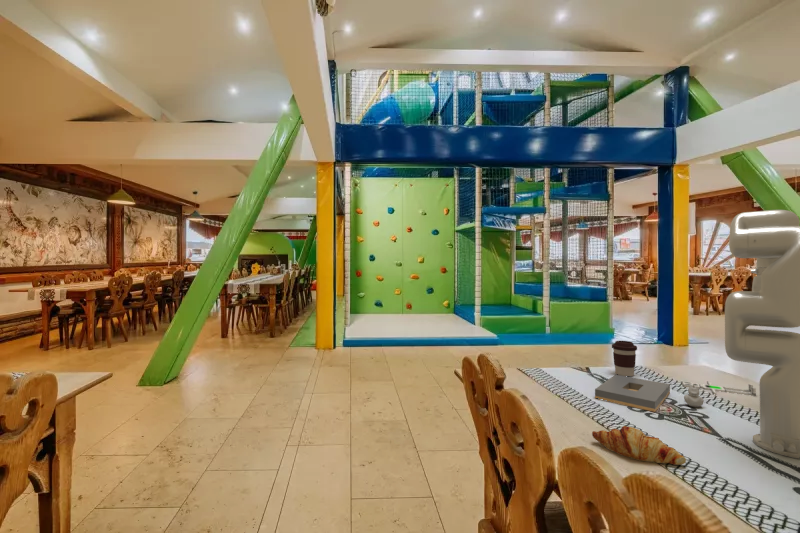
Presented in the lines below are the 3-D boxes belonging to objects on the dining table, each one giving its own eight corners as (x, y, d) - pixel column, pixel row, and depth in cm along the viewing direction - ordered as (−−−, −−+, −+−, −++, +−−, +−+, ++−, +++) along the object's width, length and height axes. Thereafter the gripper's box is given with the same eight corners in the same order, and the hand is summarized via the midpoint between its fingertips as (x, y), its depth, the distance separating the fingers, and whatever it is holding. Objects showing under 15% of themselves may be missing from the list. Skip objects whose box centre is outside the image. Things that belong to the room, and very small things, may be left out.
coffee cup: (607, 373, 172) (606, 340, 172) (621, 370, 177) (620, 339, 177) (628, 379, 163) (627, 344, 163) (642, 376, 168) (642, 342, 168)
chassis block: (655, 411, 126) (655, 401, 126) (595, 398, 140) (594, 389, 140) (669, 393, 145) (669, 384, 145) (615, 382, 158) (615, 374, 158)
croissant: (686, 476, 94) (687, 443, 97) (685, 472, 87) (686, 437, 90) (593, 449, 108) (597, 420, 110) (586, 444, 101) (590, 414, 103)
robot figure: (749, 389, 150) (680, 380, 162) (749, 381, 150) (680, 373, 162) (759, 401, 136) (684, 391, 148) (759, 392, 136) (683, 382, 148)
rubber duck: (684, 407, 131) (684, 384, 131) (683, 401, 136) (683, 379, 136) (704, 410, 128) (704, 386, 128) (702, 404, 133) (702, 381, 133)
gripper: (737, 272, 136) (738, 319, 136) (807, 272, 124) (808, 324, 124) (739, 272, 141) (740, 317, 141) (806, 272, 129) (807, 321, 129)
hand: (772, 320), depth 133 cm, fingers open, 9 cm apart
